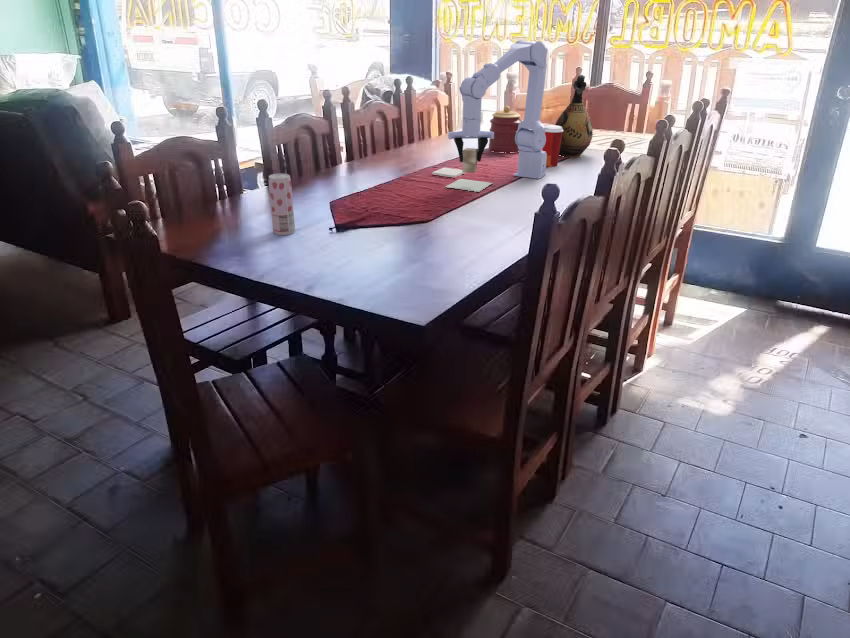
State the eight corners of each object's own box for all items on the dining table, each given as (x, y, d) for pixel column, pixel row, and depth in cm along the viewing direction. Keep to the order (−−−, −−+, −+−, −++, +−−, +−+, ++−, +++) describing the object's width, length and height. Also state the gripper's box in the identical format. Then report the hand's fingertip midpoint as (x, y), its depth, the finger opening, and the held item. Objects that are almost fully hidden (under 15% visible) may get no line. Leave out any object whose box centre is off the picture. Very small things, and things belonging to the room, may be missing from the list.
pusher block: (476, 170, 218) (477, 148, 215) (474, 172, 215) (475, 151, 212) (465, 169, 219) (465, 147, 216) (462, 172, 216) (463, 150, 213)
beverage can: (285, 227, 179) (280, 172, 172) (299, 231, 176) (295, 175, 169) (268, 232, 175) (263, 176, 168) (282, 237, 172) (277, 179, 165)
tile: (466, 170, 235) (444, 167, 239) (455, 175, 228) (432, 172, 232) (466, 175, 236) (444, 171, 240) (454, 180, 229) (432, 176, 233)
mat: (492, 184, 222) (492, 183, 221) (478, 192, 212) (478, 191, 212) (460, 180, 227) (460, 178, 226) (444, 188, 217) (445, 186, 217)
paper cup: (559, 163, 251) (562, 125, 245) (560, 167, 244) (564, 128, 238) (538, 162, 252) (541, 124, 246) (539, 167, 245) (542, 128, 239)
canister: (509, 155, 263) (512, 109, 255) (482, 151, 270) (484, 106, 262) (526, 150, 272) (529, 105, 264) (499, 146, 279) (501, 102, 271)
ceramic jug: (590, 160, 255) (600, 78, 242) (549, 158, 258) (557, 77, 245) (589, 151, 270) (598, 73, 257) (551, 149, 273) (558, 72, 260)
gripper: (491, 115, 214) (489, 158, 220) (447, 116, 213) (446, 158, 219) (496, 119, 208) (493, 162, 214) (450, 119, 206) (449, 163, 212)
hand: (470, 161), depth 216 cm, fingers closed on pusher block, 5 cm apart
